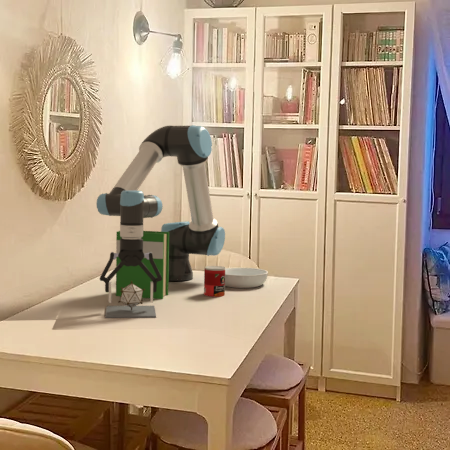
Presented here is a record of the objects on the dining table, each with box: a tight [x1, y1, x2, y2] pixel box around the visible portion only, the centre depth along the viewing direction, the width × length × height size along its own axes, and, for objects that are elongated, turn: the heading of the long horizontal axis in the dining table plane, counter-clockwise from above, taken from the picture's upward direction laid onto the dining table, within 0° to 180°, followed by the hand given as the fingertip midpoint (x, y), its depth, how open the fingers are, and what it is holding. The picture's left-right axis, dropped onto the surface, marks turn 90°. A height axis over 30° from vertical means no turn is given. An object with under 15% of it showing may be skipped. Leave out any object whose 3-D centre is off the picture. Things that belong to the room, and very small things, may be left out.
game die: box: [117, 281, 145, 310], centre depth 234 cm, size 9×8×10 cm
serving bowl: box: [225, 267, 269, 289], centre depth 284 cm, size 21×21×7 cm
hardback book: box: [115, 230, 169, 300], centre depth 260 cm, size 18×7×24 cm, turn 78°
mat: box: [104, 305, 157, 319], centre depth 234 cm, size 16×16×1 cm
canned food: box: [203, 265, 226, 298], centre depth 264 cm, size 8×8×11 cm
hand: (130, 302), depth 234 cm, fingers open, 13 cm apart
